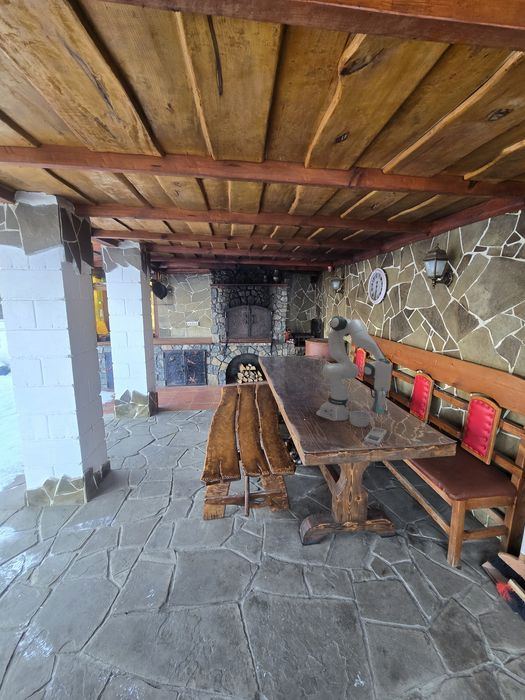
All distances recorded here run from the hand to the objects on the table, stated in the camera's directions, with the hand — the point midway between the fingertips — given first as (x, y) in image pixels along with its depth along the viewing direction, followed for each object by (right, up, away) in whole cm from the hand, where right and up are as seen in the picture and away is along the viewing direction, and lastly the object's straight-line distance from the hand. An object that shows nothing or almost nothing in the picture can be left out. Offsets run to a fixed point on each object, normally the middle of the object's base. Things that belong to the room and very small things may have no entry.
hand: (380, 407), depth 171 cm
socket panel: (-4, -18, -2) cm, 18 cm away
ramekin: (-7, -15, +16) cm, 23 cm away
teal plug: (0, -3, 0) cm, 3 cm away
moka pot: (+16, -11, +41) cm, 46 cm away
